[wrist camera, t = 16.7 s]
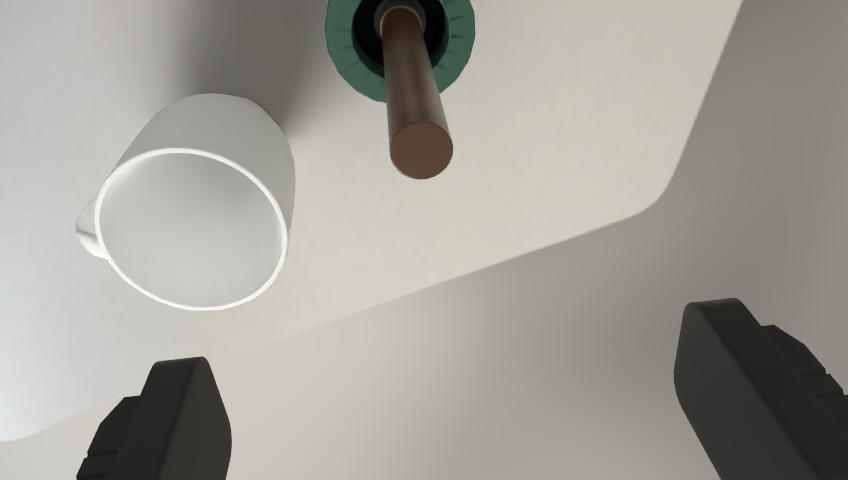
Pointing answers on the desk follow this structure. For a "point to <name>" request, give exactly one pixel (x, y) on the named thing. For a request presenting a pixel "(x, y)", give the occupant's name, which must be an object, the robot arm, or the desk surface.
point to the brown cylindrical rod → (411, 91)
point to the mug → (197, 205)
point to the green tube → (363, 50)
